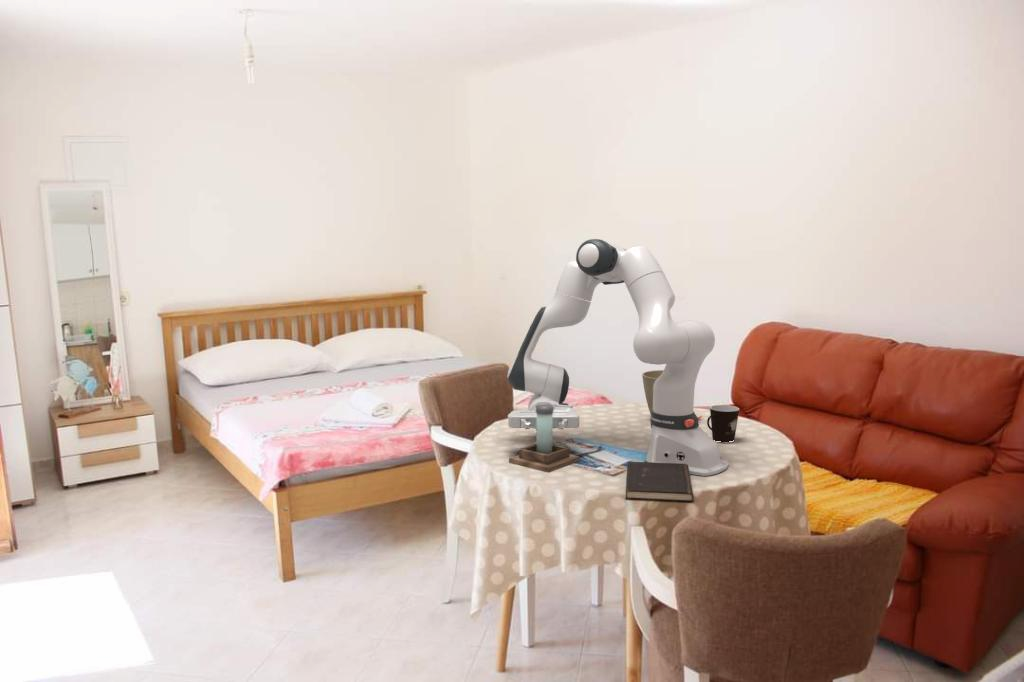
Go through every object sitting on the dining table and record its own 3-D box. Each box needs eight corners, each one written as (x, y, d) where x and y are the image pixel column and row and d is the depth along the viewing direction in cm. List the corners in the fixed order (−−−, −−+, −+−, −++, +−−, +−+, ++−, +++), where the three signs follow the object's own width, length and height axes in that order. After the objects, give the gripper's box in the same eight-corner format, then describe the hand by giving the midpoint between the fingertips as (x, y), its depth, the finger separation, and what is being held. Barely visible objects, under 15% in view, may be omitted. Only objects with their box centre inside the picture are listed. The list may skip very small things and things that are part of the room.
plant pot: (635, 417, 286) (636, 371, 284) (677, 415, 289) (678, 369, 286) (650, 428, 272) (651, 379, 269) (693, 426, 274) (695, 377, 272)
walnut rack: (579, 460, 237) (579, 447, 236) (548, 472, 226) (548, 458, 226) (540, 451, 246) (540, 439, 245) (509, 462, 235) (508, 449, 235)
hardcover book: (625, 499, 205) (625, 490, 204) (627, 469, 227) (627, 461, 227) (692, 502, 202) (693, 493, 202) (688, 472, 225) (688, 463, 224)
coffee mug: (729, 435, 262) (730, 404, 261) (743, 443, 254) (744, 410, 252) (694, 438, 259) (695, 406, 258) (707, 445, 251) (708, 412, 250)
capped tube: (555, 455, 237) (555, 404, 235) (550, 460, 233) (550, 408, 230) (538, 454, 239) (538, 403, 236) (533, 459, 234) (533, 407, 232)
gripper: (507, 404, 247) (506, 415, 233) (577, 404, 247) (580, 415, 233) (507, 425, 248) (506, 437, 234) (577, 425, 248) (580, 437, 234)
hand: (544, 426), depth 234 cm, fingers open, 8 cm apart
